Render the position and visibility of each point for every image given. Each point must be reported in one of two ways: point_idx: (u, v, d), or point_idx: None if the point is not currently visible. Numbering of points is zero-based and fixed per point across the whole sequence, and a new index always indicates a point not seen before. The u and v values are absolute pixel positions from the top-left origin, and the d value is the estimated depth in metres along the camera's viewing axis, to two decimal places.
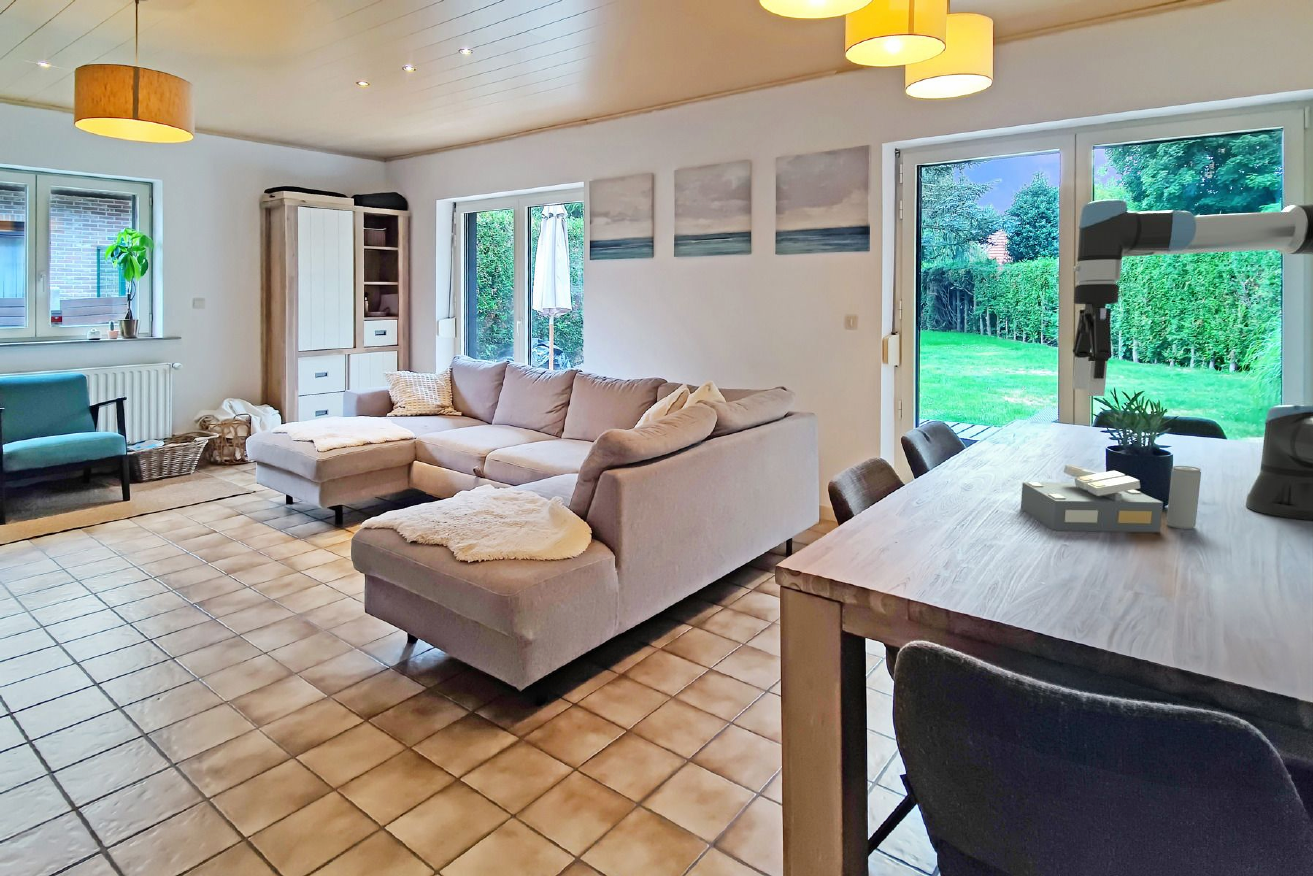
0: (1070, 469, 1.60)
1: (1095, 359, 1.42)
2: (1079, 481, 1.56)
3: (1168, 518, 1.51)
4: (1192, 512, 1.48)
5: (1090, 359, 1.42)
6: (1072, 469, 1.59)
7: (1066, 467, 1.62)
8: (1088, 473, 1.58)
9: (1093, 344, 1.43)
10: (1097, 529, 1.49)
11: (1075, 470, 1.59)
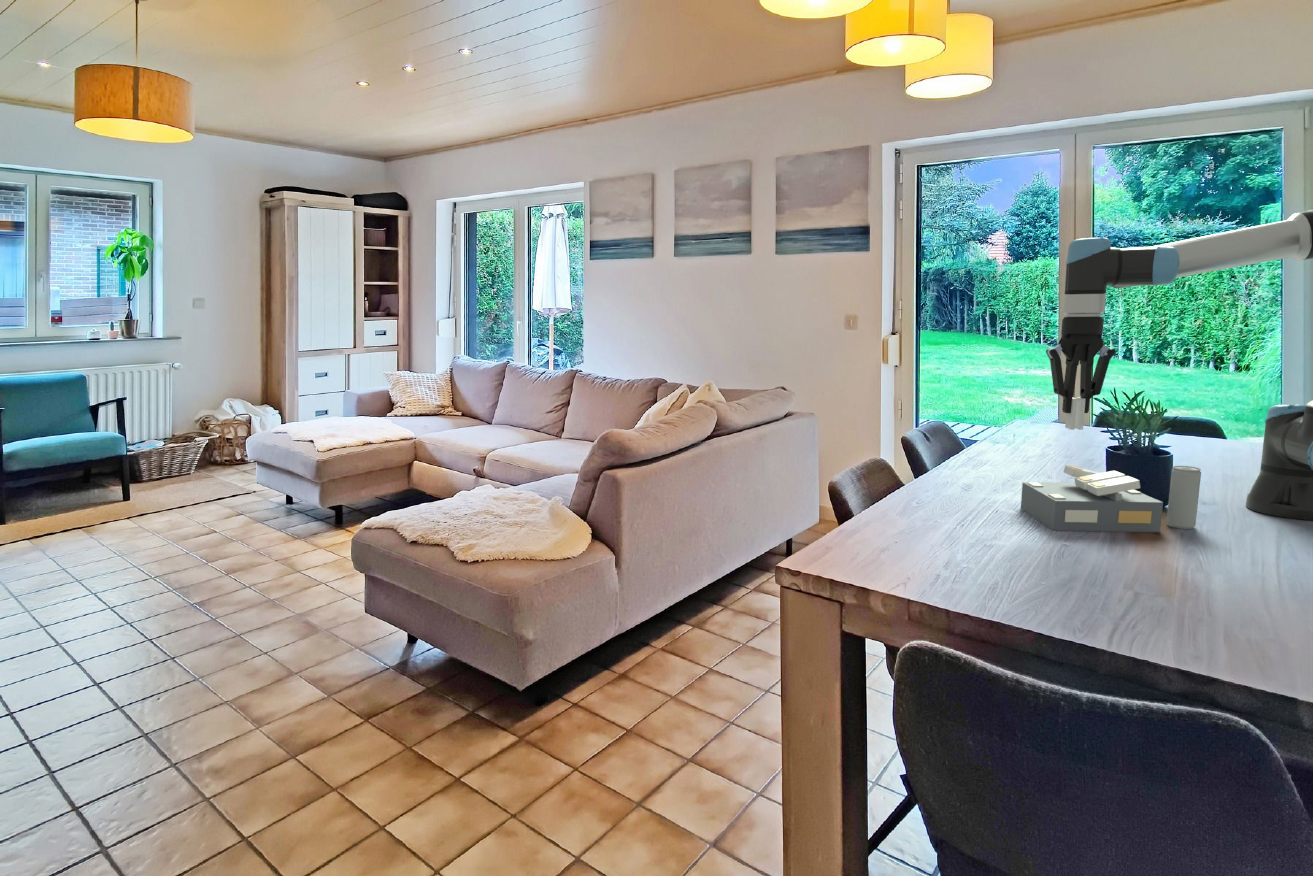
0: (1070, 469, 1.60)
1: None
2: (1079, 481, 1.56)
3: (1168, 518, 1.51)
4: (1192, 512, 1.48)
5: None
6: (1072, 469, 1.59)
7: (1066, 467, 1.62)
8: (1088, 473, 1.58)
9: (1064, 381, 1.59)
10: (1097, 529, 1.49)
11: (1075, 470, 1.59)
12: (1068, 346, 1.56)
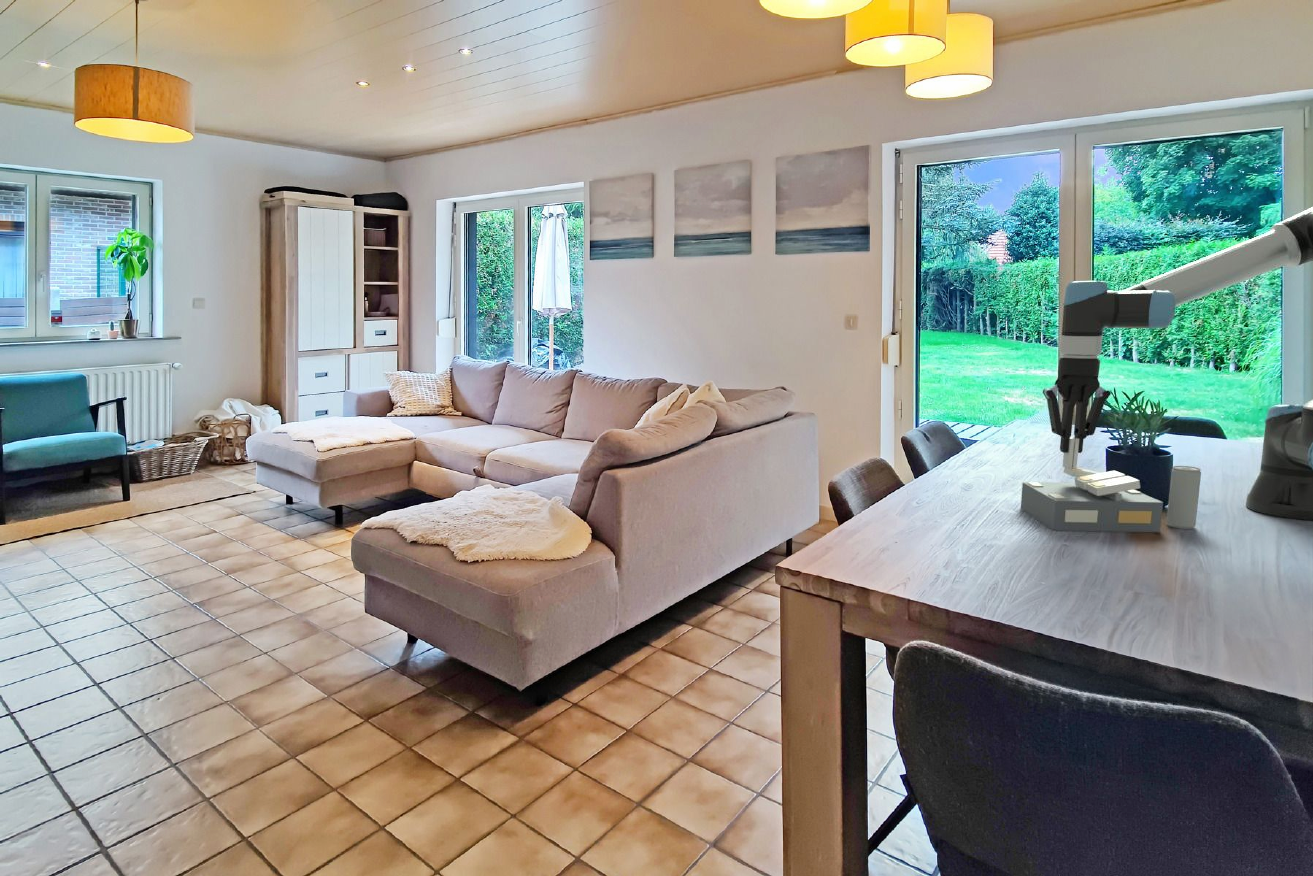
0: (1070, 469, 1.60)
1: None
2: (1079, 481, 1.56)
3: (1168, 518, 1.51)
4: (1192, 512, 1.48)
5: None
6: (1072, 469, 1.59)
7: None
8: (1088, 473, 1.58)
9: None
10: (1097, 529, 1.49)
11: (1075, 470, 1.59)
12: (1064, 387, 1.57)
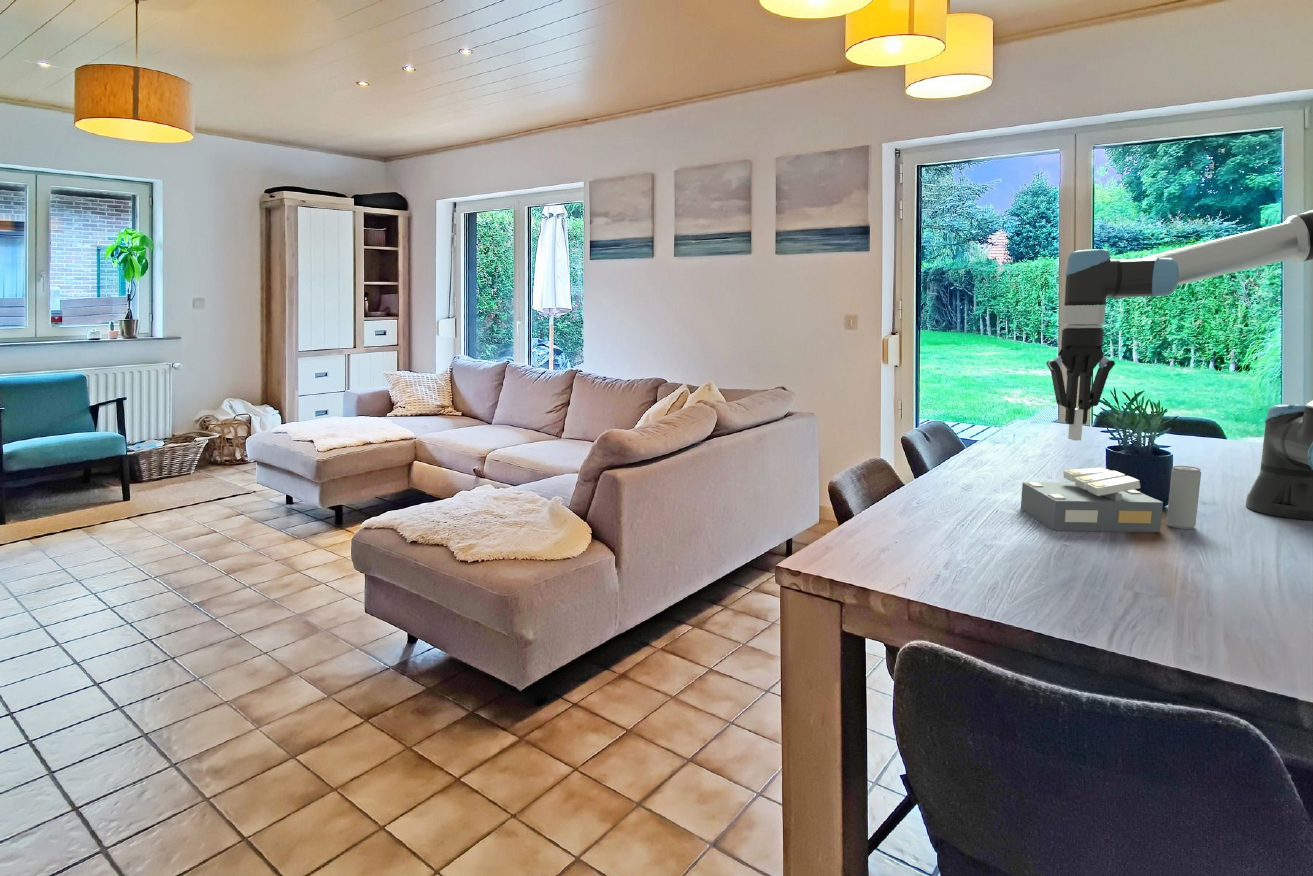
0: (1069, 474, 1.60)
1: None
2: (1079, 481, 1.56)
3: (1168, 518, 1.51)
4: (1192, 512, 1.48)
5: None
6: (1070, 474, 1.60)
7: (1065, 472, 1.62)
8: (1087, 474, 1.59)
9: (1066, 392, 1.59)
10: (1097, 529, 1.49)
11: (1073, 475, 1.59)
12: (1068, 357, 1.56)
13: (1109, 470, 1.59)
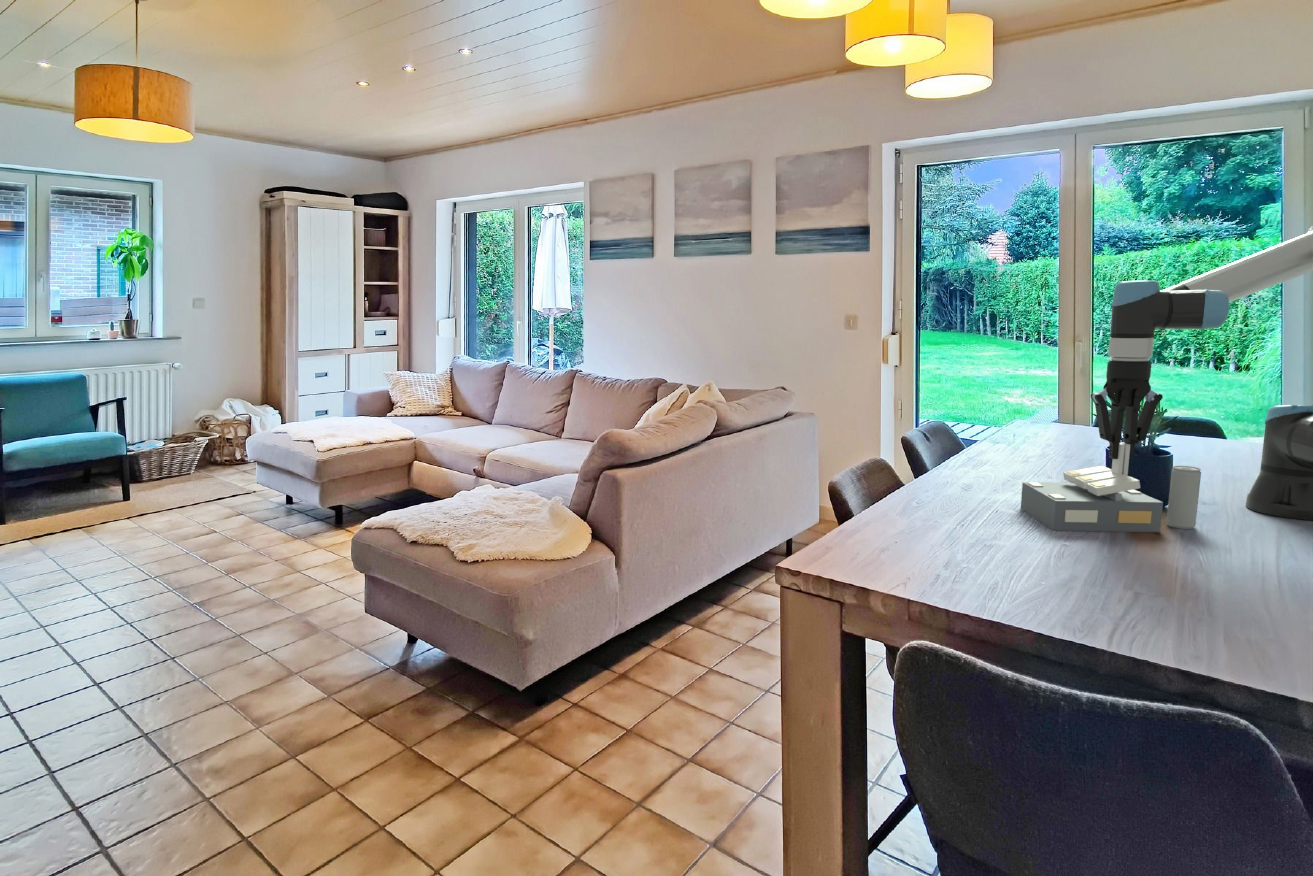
0: (1069, 476, 1.60)
1: None
2: (1079, 481, 1.56)
3: (1168, 518, 1.51)
4: (1192, 512, 1.48)
5: None
6: (1070, 476, 1.60)
7: (1065, 474, 1.62)
8: None
9: (1110, 425, 1.54)
10: (1097, 529, 1.49)
11: (1073, 477, 1.59)
12: (1114, 391, 1.51)
13: None
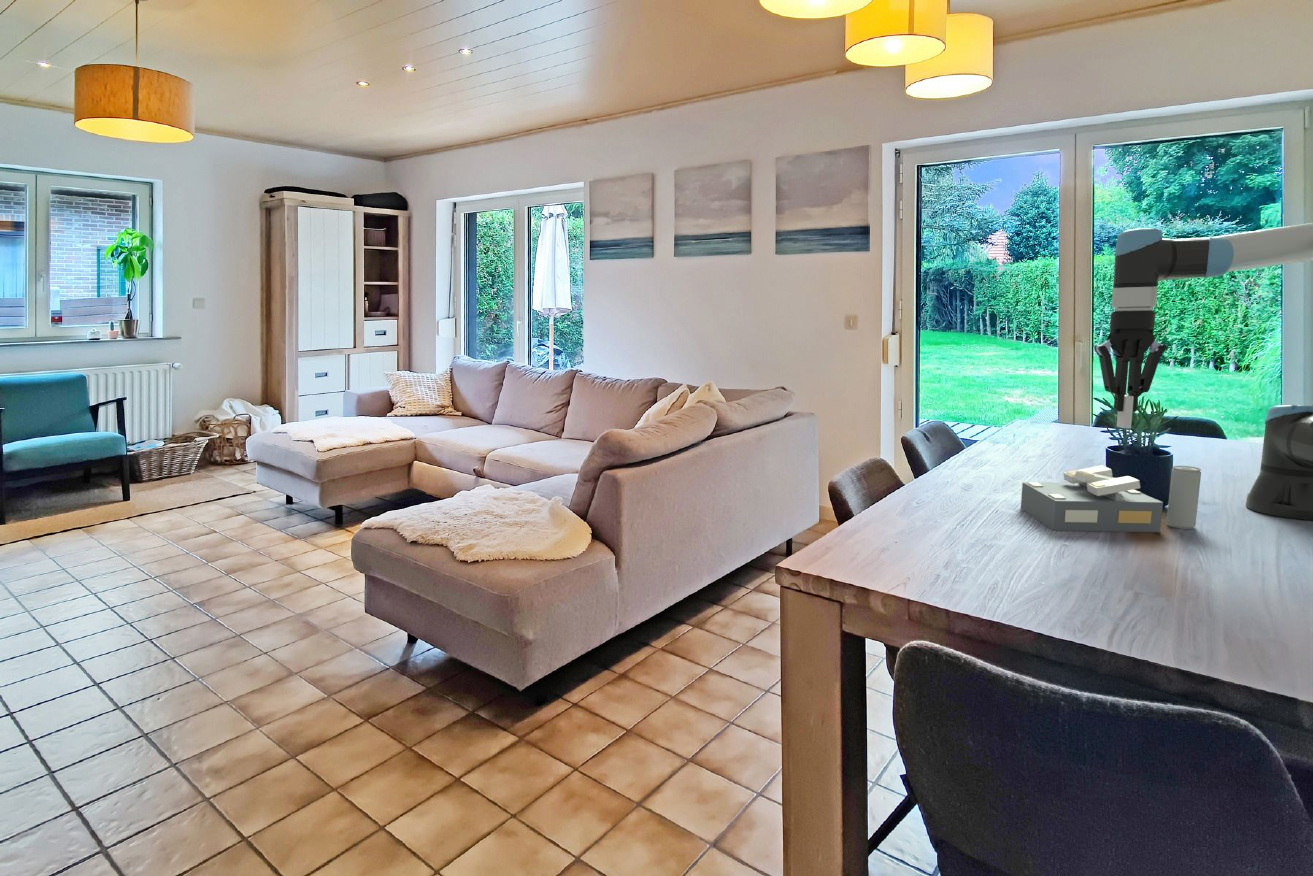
0: (1069, 477, 1.60)
1: None
2: (1081, 474, 1.55)
3: (1168, 518, 1.51)
4: (1192, 512, 1.48)
5: None
6: (1070, 477, 1.60)
7: (1065, 474, 1.62)
8: None
9: (1115, 378, 1.53)
10: (1097, 529, 1.49)
11: (1073, 477, 1.59)
12: (1118, 341, 1.50)
13: (1108, 468, 1.59)
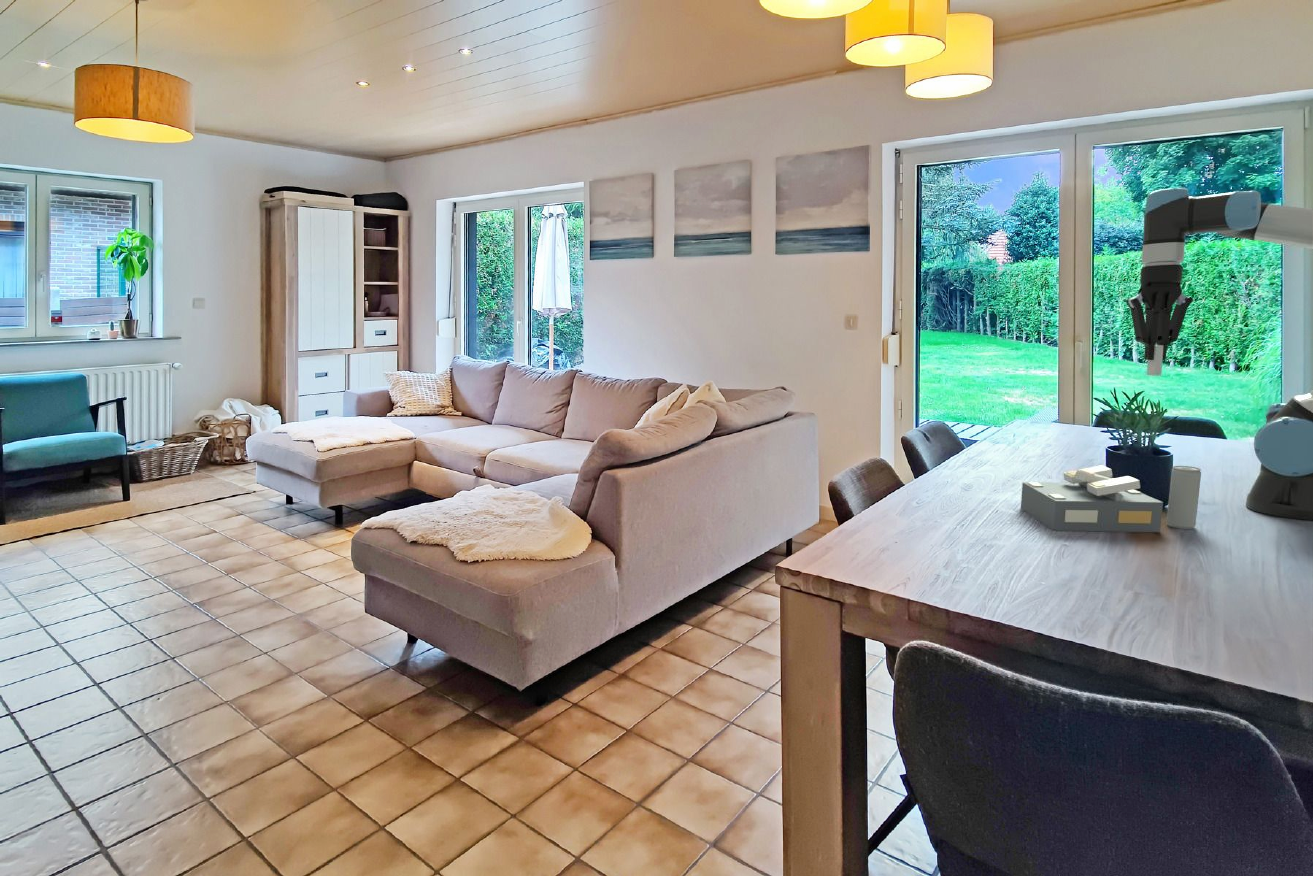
0: (1069, 477, 1.60)
1: None
2: (1081, 473, 1.55)
3: (1168, 518, 1.51)
4: (1192, 512, 1.48)
5: (1144, 344, 1.66)
6: (1070, 477, 1.60)
7: (1065, 474, 1.62)
8: None
9: None
10: (1097, 529, 1.49)
11: (1073, 477, 1.59)
12: (1149, 294, 1.61)
13: (1108, 468, 1.59)
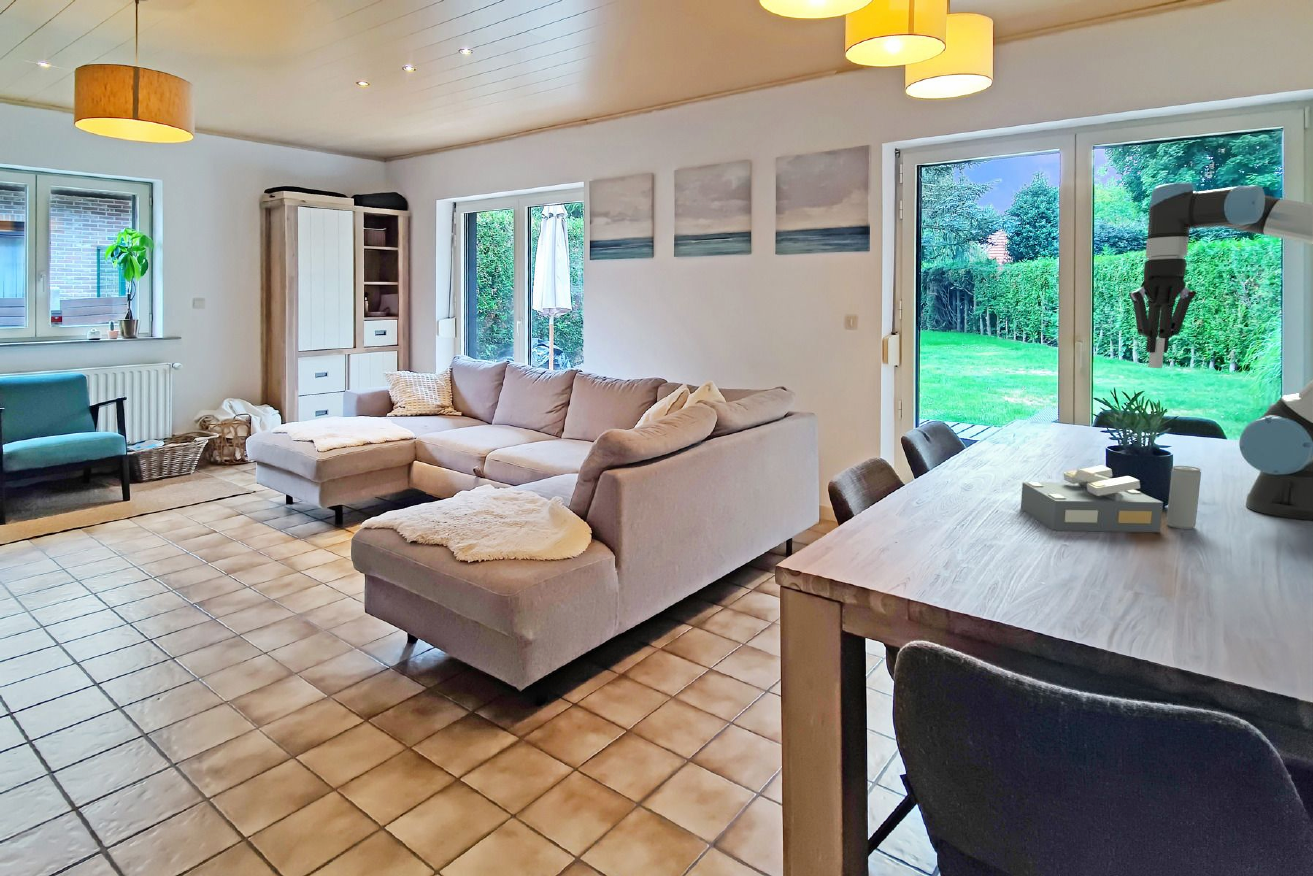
0: (1069, 477, 1.60)
1: None
2: (1081, 472, 1.55)
3: (1168, 518, 1.51)
4: (1192, 512, 1.48)
5: None
6: (1070, 477, 1.60)
7: (1065, 474, 1.62)
8: None
9: (1147, 322, 1.67)
10: (1097, 529, 1.49)
11: (1073, 477, 1.59)
12: (1151, 288, 1.64)
13: (1108, 468, 1.59)
